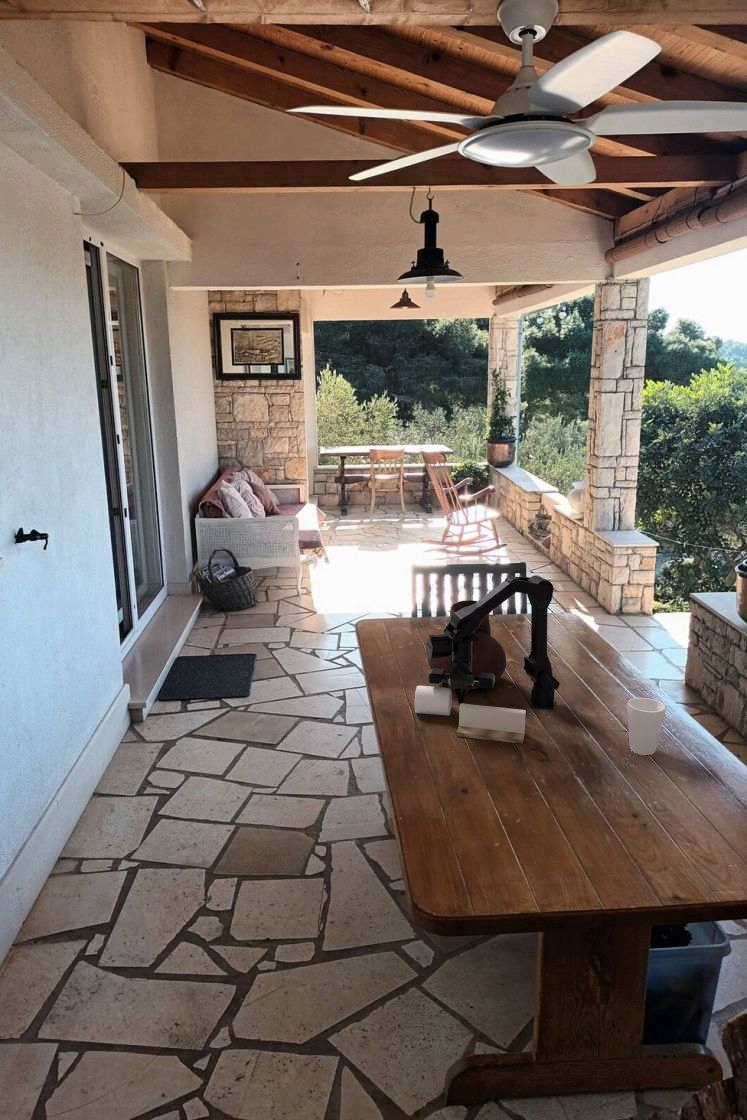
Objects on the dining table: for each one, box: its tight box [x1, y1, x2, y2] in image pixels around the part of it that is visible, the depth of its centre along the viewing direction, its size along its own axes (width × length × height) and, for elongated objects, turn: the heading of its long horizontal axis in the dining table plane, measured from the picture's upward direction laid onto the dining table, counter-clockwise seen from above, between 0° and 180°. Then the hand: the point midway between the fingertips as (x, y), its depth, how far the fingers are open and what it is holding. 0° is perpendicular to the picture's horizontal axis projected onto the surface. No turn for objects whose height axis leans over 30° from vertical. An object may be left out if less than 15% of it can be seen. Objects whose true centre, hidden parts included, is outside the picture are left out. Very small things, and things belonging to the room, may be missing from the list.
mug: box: [414, 685, 453, 717], centre depth 230 cm, size 12×10×8 cm
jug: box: [427, 599, 507, 690], centre depth 249 cm, size 25×25×25 cm
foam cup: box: [626, 697, 667, 756], centre depth 205 cm, size 10×9×13 cm
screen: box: [456, 703, 527, 745], centre depth 215 cm, size 18×6×7 cm, turn 75°
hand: (461, 705), depth 229 cm, fingers closed
